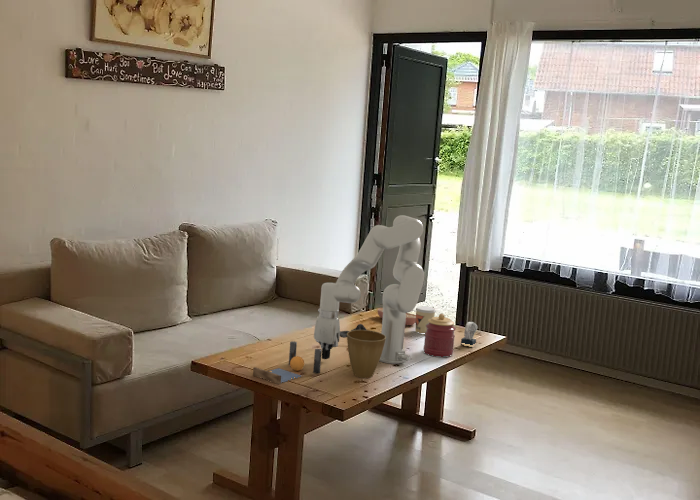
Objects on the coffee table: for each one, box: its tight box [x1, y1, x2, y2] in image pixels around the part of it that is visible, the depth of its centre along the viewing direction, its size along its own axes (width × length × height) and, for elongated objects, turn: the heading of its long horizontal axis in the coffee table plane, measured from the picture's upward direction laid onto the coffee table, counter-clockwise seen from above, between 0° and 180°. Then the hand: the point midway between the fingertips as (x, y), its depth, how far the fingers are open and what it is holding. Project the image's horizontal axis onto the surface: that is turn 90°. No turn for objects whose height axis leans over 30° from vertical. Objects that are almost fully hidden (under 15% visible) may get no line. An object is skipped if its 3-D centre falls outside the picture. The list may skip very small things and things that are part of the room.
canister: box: [423, 313, 456, 358], centre depth 330 cm, size 13×13×18 cm
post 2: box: [312, 348, 322, 374], centre depth 291 cm, size 3×3×9 cm
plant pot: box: [346, 329, 386, 379], centre depth 291 cm, size 15×15×16 cm
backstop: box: [252, 366, 282, 385], centre depth 278 cm, size 13×1×3 cm, turn 53°
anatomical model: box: [377, 307, 416, 326], centre depth 381 cm, size 23×10×5 cm, turn 49°
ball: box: [289, 355, 305, 372], centre depth 292 cm, size 6×6×6 cm
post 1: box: [288, 340, 298, 366], centre depth 298 cm, size 3×3×9 cm
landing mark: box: [270, 367, 302, 384], centre depth 284 cm, size 12×12×1 cm
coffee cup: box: [415, 305, 436, 333], centre depth 364 cm, size 9×9×12 cm
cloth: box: [340, 323, 367, 339], centre depth 349 cm, size 22×19×6 cm
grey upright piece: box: [460, 321, 478, 345], centre depth 347 cm, size 6×8×11 cm
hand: (325, 358), depth 305 cm, fingers closed
